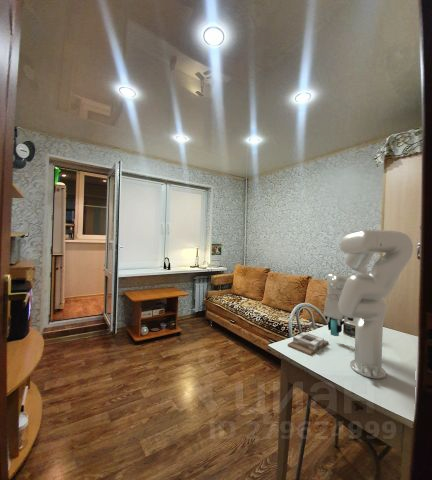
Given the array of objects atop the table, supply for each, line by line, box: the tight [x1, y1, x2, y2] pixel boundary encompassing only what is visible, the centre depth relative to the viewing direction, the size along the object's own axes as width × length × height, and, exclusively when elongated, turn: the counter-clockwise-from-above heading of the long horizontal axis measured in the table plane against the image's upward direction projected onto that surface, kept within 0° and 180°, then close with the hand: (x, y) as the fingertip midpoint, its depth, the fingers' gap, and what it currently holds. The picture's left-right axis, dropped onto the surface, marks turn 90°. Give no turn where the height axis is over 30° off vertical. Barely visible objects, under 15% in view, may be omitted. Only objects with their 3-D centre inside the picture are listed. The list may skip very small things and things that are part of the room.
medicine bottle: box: [342, 318, 359, 338], centre depth 131 cm, size 7×7×12 cm
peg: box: [330, 318, 340, 337], centre depth 121 cm, size 4×4×8 cm
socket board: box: [287, 331, 329, 356], centre depth 117 cm, size 20×12×4 cm, turn 131°
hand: (334, 330), depth 120 cm, fingers closed on peg, 4 cm apart
